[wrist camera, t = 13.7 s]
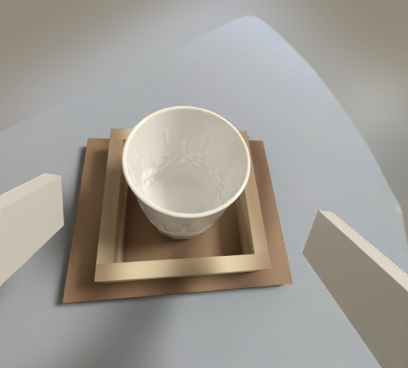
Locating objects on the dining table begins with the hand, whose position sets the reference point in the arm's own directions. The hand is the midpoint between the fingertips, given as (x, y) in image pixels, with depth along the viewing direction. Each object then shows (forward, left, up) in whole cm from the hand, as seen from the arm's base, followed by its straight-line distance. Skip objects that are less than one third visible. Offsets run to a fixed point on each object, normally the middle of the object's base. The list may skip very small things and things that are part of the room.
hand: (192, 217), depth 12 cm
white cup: (0, +4, -11) cm, 12 cm away
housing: (0, +4, -12) cm, 13 cm away
